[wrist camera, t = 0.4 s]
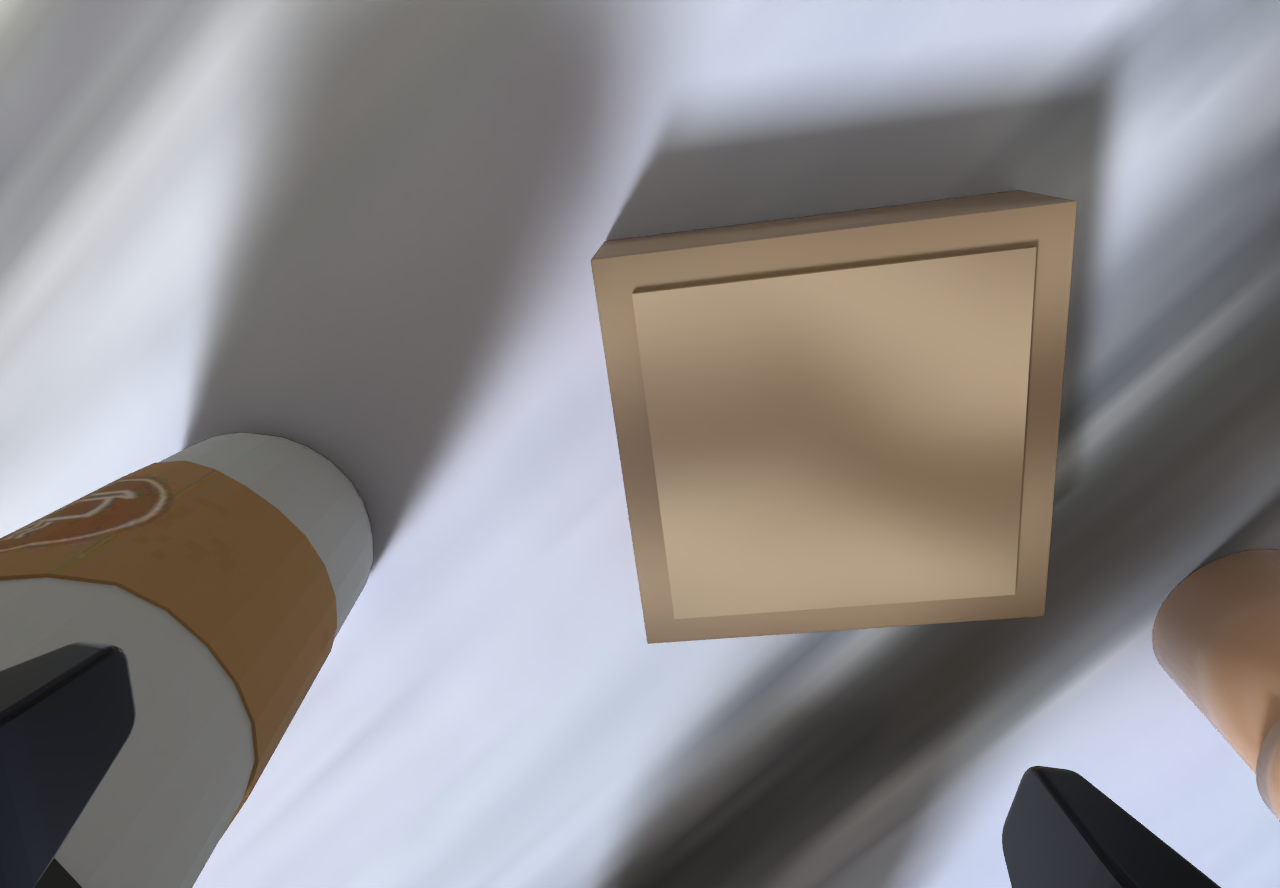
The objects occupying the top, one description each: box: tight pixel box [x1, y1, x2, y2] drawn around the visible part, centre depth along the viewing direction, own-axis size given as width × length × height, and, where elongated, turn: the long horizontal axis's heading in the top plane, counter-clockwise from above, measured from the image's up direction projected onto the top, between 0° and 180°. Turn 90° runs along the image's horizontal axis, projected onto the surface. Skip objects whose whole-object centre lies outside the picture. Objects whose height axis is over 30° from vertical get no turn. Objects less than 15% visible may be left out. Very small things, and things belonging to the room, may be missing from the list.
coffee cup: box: [0, 432, 373, 888], centre depth 16 cm, size 8×8×15 cm
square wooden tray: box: [591, 190, 1077, 644], centre depth 19 cm, size 10×10×3 cm
